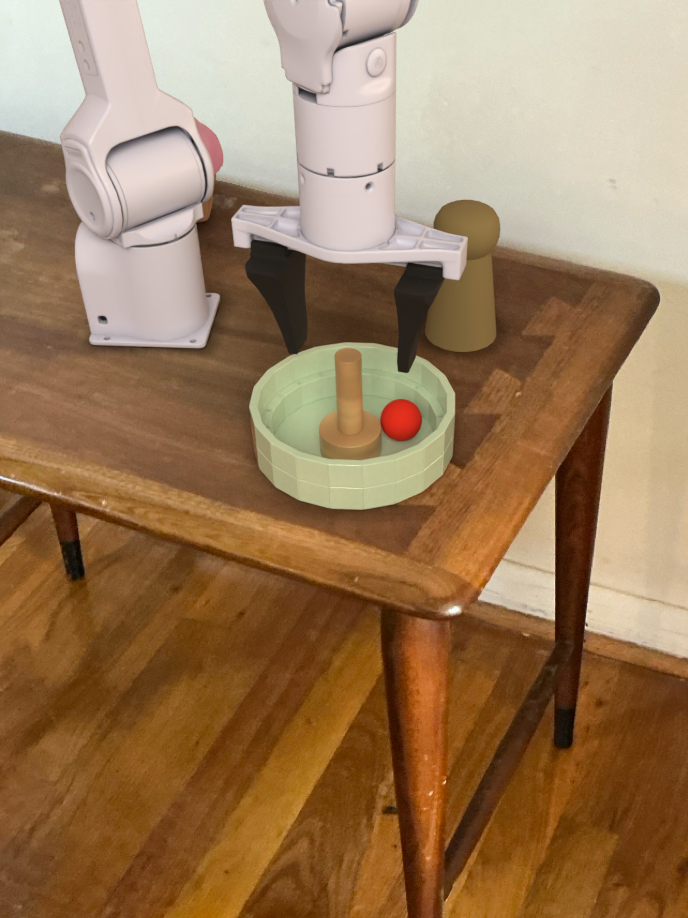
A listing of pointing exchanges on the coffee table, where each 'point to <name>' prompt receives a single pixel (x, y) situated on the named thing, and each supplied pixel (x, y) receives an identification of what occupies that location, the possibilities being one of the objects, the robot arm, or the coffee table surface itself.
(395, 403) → the red ball
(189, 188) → the robot arm
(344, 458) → the wooden peg on base
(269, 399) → the bowl
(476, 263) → the cork
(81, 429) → the coffee table surface
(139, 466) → the coffee table surface
